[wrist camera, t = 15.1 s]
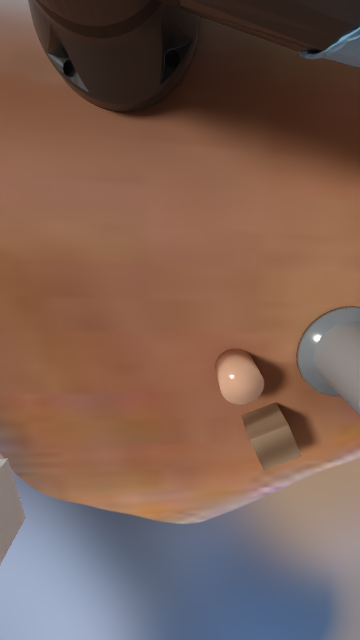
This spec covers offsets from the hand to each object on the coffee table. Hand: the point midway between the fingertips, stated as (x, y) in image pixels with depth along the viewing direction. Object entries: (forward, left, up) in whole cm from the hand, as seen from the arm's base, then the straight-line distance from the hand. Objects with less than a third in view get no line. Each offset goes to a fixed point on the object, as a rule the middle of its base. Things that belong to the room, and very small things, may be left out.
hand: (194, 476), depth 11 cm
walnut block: (+18, +10, -27) cm, 34 cm away
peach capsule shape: (+9, +6, -27) cm, 29 cm away
